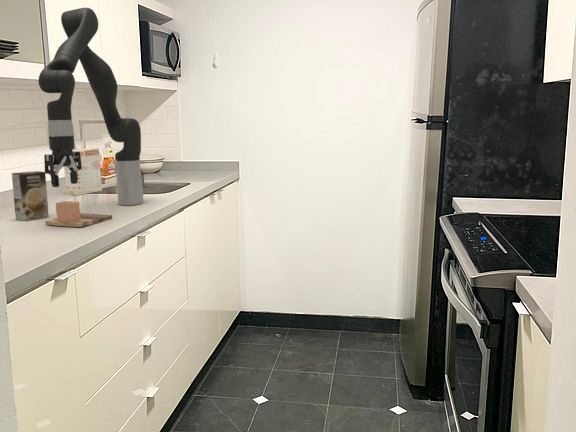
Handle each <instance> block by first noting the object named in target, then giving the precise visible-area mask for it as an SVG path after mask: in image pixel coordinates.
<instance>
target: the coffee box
mask: <svg viewBox="0 0 576 432" xmlns="http://www.w3.org/2000/svg"><path fill="white" fill-rule="evenodd" d="M46 179H47V177H46V173H45V171H39V170H38V171H36V170H35V171H23V172H22V171H20V172H11V180H12V181H11V182H12V191H13V204H14V212H15V213H14V217H15V220H19V221H22V220H23V222H27V221H32V219H34V220H39V219H46V218H49V216H50V215H49V213H50V212H49V203H48V192H47V191H48V189H47V180H46ZM26 220H27V221H26Z"/></svg>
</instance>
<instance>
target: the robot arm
mask: <svg viewBox="0 0 576 432" xmlns="http://www.w3.org/2000/svg"><path fill="white" fill-rule="evenodd" d="M60 20H61V21H60V22H61V25H62V28H63V31H64V33H65V35H66V37H67V38H66V40H64V41H63V42H62V43H61V45H59V46H58V49H57V50H56V52H55V54H54V57H53V59H52V60H51V61H49V63H47V65H46V66H44V68H42V70H41V71H40V74H39V76H38V86H39V88H40V89H41V91H43V92H44V93H46V94H60V96H59V98H58V99H55V100H52V101H49V102H47V106H46V108H47V109H46V111H47V112H46V113H47V121H48V122H47V124H48V125H47V133H48V144H49V146H48V147H49V150H50V151H51V154H49V153H48V154H46V153H45V154H44V157H43V159H44V162H43V163H44V172H45V175H46V174H48V175H50V181H51V183H50V184H51V186H52V187H53V188H59V187H60V177H59V176H60V175H59V173H60V171H61V169H62V168H64V167H65V166H66V167H68V169H69V170H70V180H71V184H77V182H78V176H77V172H78V170H81V169H82V165H81V156H80V152H74V151H72V150H75V135H74V125H73V119H72V118H73V117H72V103H73V102H72V101H73V96H74V91H75V86H76V79H75V77H74V75H73V74H74V73H75V70H76V67H77V65H78V63H80V64H81V66H82V69H83V71H84V73H85V76H86V80H88V83H89V85H90V87H91V90H92V92H93V94H94V96H95V99H96V102H97V103H98V106H99V108H100V111H101V114H102V117H103V120H104V123H105V127H106V129H107V132H108V135H109V136H110V138H111V140H113V141H114V142H117V143H123V147H122V149H121V150H120V151H117V152H115V154H114V160H115V176H116V187H117V188H116V189H117V201H118V203H117V204H118V205H119V206H137V205H141V204H143V202H144V190H143V189H144V184H143V185H142V178H141V171H140V169H141V160H140V158H141V157H140V156H141V152H142V131H141V125H140V123H139V122H138V120H137V119H135V118H130V117H129V118H127V117H126V118H123V117H121V115H120V112H119V111H118V108H117V97H118V95H117V94H118V82H117V79H116V77H115V75H114V72H113V70H112V68H111V67H110V65H109V64H108V63H107V62H106V61H105V60H104V59H102V58H101V57H100V56H99V55H98V54H97V53H95V51H93V50H92V48H90V46H89V43H90V42H91V41H92V39H93V38H94V37H95V35H96V34H97V32H98V29H99V19H98V16H97V14H96V13H95V11H94V9H92V8H91V7H81V8H75V9H70V10H66V11H64V12H62V14H61V17H60ZM76 162H77V163H78V166H77V163H76Z"/></svg>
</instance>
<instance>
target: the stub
mask: <svg viewBox="0 0 576 432" xmlns="http://www.w3.org/2000/svg"><path fill="white" fill-rule="evenodd" d="M55 212H56V218H55V217H54V218H52V219H49V220H45V221H44V222H45V223H44V224H45V225H46V226H56V227H57V226H58V227H59V226H60V227H70V228H72V227H74V228H82V227H86V226H89V225H94V224H93V220H85V219H80V213H81V208H80V202H79V201H70V200H69V201H67V200H63V201H58V202H55Z"/></svg>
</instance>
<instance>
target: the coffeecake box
mask: <svg viewBox="0 0 576 432" xmlns="http://www.w3.org/2000/svg"><path fill="white" fill-rule="evenodd" d="M72 151H74V152H80V156H81V165H82V169H81V170H78V172H77V176H78V182H77V184H71V180H70V170H69V169H68V167H66V166H65V167H63V171H64V179H65V189H66V190H65V191H66V195H67V196H82V195H85V194H86V195H87V194H92V193H97V192H103V185H102V174H101V163H100V159H101V158H100V150H99V148H97V147H95V148H94V147H87V148H84V147H83V148H77V149H75V148H74V149H72ZM76 163H77V162H76ZM77 166H78V163H77Z"/></svg>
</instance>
